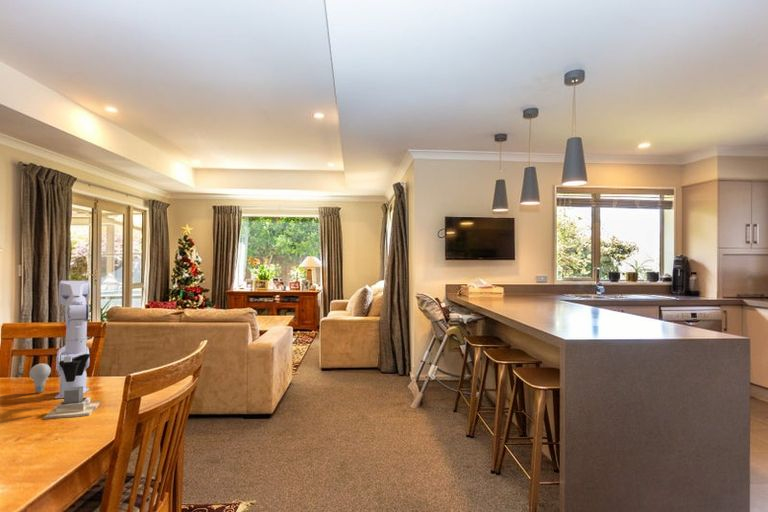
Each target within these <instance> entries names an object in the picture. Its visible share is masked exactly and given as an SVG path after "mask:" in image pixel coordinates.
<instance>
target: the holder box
mask: <svg viewBox="0 0 768 512" xmlns="http://www.w3.org/2000/svg"><path fill="white" fill-rule="evenodd" d="M91 399H92V397H91V396H86V397H85V396H83V402H82V403H76V404H64V399H63V400H62V401H61V402H59V403H58V404H57V405H56V406H55V407H54V408H53V409H51V411H49V412H48V413H47V414H45V416H43V420H44V421H45V420H54V419H55V420H56V419H65V418H66V419H67V418H76V417H87V416H88V417H89V416H91V414H92V413H93V412H94V411H95V410H96V409H97V408H98V407H99V406H100V405H101V403H102V401H101V400H100V401H99V400H98V401H91Z"/></svg>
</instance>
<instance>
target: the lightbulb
mask: <svg viewBox="0 0 768 512" xmlns="http://www.w3.org/2000/svg"><path fill="white" fill-rule="evenodd" d="M51 372H52V368H51V367H50V366H49V364H47V363H38V364H35V365H33V366H32V367H31V368H30V371H29V377H30V378H31V379H32V381H33V383H34V384H33V385H34V392H35V393H37V394H41V393H42V392H44V391H45V385H46V381H47V379H48V378H49V376H50V375H51Z"/></svg>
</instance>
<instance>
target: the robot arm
mask: <svg viewBox="0 0 768 512" xmlns="http://www.w3.org/2000/svg"><path fill="white" fill-rule="evenodd" d="M90 294H91V281H90V280H60V281H59V282H58V301H59V304H60V305H63V306H65V312H64V313H65V314H64V315H65V318H64V319H65V327H66V329H65V345H64V346H62V347H61V348H59V349H58V350H57V352H56V357H55V358H56V359H55V360H56V361H55V371H57V372H59V393H58V394H57V395H55V396H54V399H64V391H65V390H66V389H68V388H69V387H81V386H83V395H84V394H85V393H86V392H88V391H89V390H90V388H89V387H87V377H88V376H87V375H88V374H87V371H86V369H88V368H89V366H90V357H91V353H90V349H89V347H88V346H87V333H88V331H87V330H88V321H89V320H90V305H89V304H88V303H89V300H90V296H91V295H90Z"/></svg>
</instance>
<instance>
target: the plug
mask: <svg viewBox="0 0 768 512" xmlns="http://www.w3.org/2000/svg"><path fill="white" fill-rule="evenodd" d="M83 397H84V394H83V386H81V387H69V388H68V389H66V390H65V391H64V398H63V400H64V404H76V403H82V402H83Z"/></svg>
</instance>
